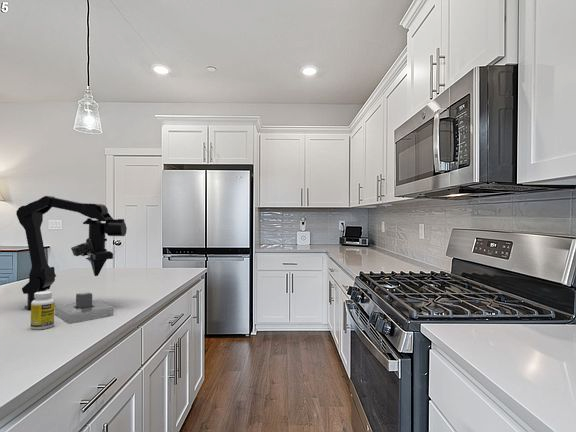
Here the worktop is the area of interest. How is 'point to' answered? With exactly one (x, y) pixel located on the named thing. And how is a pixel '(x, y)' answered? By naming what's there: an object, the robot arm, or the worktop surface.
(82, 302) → the plug
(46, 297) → the pill bottle
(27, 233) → the robot arm
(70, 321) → the socket plate
